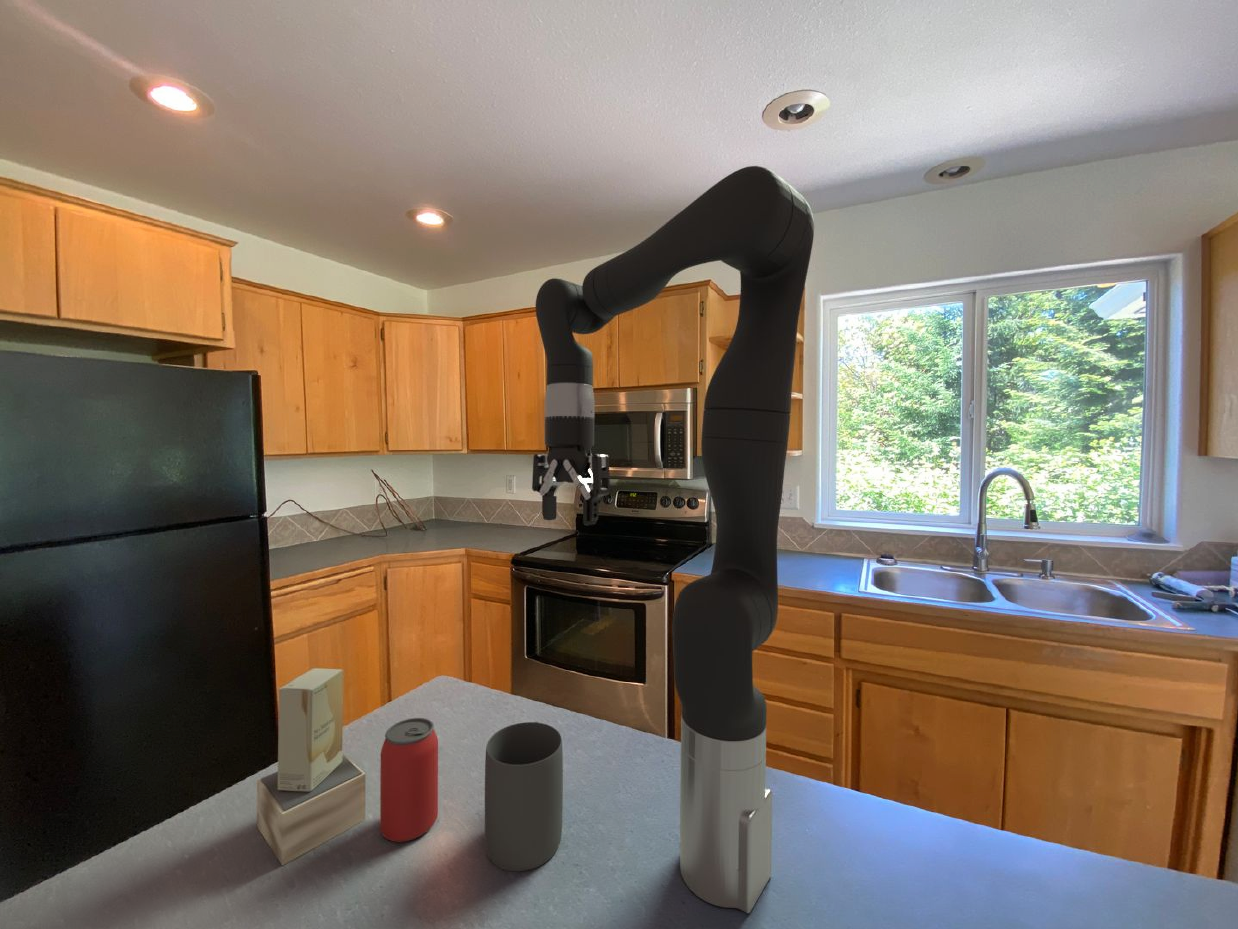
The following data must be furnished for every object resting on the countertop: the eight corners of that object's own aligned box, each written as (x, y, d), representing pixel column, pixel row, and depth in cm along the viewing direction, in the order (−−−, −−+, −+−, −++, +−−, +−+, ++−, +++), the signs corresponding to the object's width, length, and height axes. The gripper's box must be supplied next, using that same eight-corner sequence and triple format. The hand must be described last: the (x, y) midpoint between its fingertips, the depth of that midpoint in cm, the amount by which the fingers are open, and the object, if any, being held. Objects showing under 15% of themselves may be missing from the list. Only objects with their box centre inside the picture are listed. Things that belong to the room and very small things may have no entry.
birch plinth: (365, 819, 61) (365, 772, 61) (282, 865, 54) (282, 812, 54) (335, 788, 67) (335, 745, 67) (257, 827, 60) (257, 779, 60)
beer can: (417, 850, 57) (417, 748, 57) (367, 840, 58) (368, 741, 58) (448, 810, 63) (448, 718, 63) (403, 802, 64) (403, 712, 64)
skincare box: (310, 794, 57) (310, 691, 57) (275, 792, 58) (275, 689, 57) (345, 760, 64) (345, 667, 64) (313, 758, 64) (313, 666, 64)
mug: (557, 874, 54) (557, 767, 53) (474, 873, 54) (474, 765, 53) (570, 790, 67) (570, 704, 67) (504, 789, 67) (504, 703, 67)
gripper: (621, 415, 72) (620, 524, 73) (555, 419, 81) (554, 516, 82) (587, 411, 67) (586, 529, 67) (519, 416, 75) (519, 520, 76)
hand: (569, 522), depth 74 cm, fingers open, 8 cm apart
